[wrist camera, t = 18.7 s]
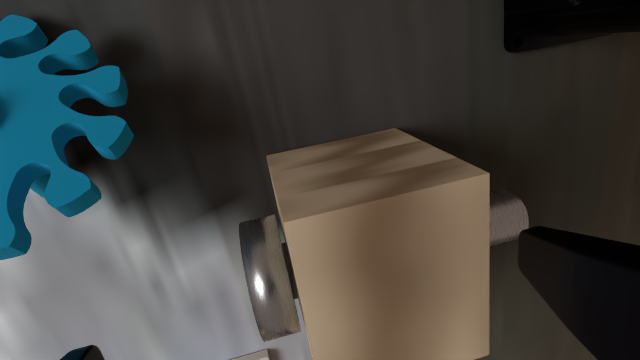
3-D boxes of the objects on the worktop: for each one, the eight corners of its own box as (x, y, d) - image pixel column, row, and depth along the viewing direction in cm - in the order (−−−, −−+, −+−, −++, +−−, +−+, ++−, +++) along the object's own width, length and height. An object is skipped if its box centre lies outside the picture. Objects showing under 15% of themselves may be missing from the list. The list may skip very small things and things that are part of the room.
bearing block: (395, 128, 20) (489, 173, 12) (406, 255, 22) (489, 354, 15) (266, 155, 19) (283, 222, 11) (295, 285, 22) (324, 406, 14)
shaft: (477, 150, 19) (555, 181, 14) (478, 235, 21) (548, 287, 16) (239, 204, 17) (239, 260, 13) (262, 292, 19) (269, 370, 14)
